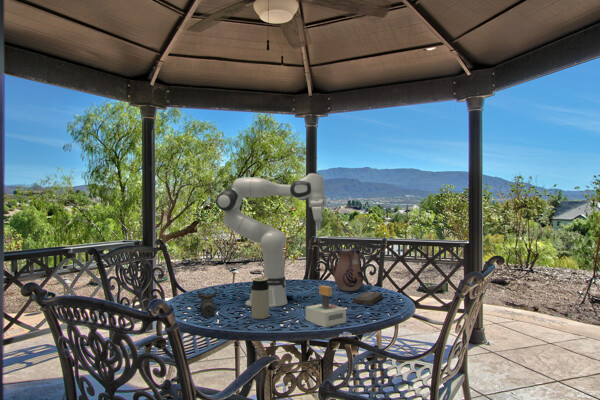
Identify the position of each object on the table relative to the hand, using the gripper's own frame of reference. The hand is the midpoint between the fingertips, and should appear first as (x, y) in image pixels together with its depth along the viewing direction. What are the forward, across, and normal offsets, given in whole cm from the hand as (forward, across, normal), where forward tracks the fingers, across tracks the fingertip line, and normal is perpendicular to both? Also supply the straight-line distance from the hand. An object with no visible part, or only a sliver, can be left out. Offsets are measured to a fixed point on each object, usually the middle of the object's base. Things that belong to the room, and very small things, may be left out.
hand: (318, 229), depth 208 cm
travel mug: (+39, +22, -29) cm, 54 cm away
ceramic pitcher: (+39, -42, +13) cm, 58 cm away
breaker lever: (+35, +27, +2) cm, 44 cm away
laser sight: (+37, +13, -58) cm, 70 cm away
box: (+41, -14, +24) cm, 50 cm away
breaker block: (+41, +27, +1) cm, 49 cm away
